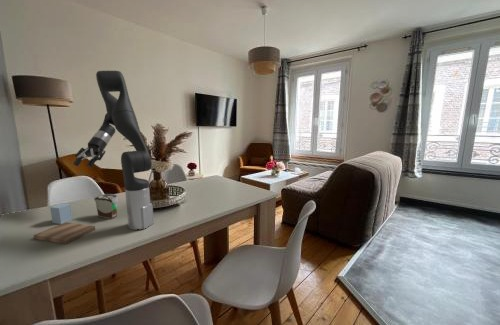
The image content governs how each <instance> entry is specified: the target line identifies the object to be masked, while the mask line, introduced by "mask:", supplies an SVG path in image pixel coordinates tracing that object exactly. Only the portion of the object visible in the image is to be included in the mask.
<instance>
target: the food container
mask: <svg viewBox="0 0 500 325" xmlns="http://www.w3.org/2000/svg"><path fill="white" fill-rule="evenodd" d="M93 201H94V202H95V206H96V212H97V216H98V217H101V218H105V219H110V220H113V219H115V218H117V216H118V201H119V198H118V195H117V194H113V193H104V194H99V195H95V196H94V198H93Z"/></svg>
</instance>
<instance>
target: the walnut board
mask: <svg viewBox="0 0 500 325" xmlns="http://www.w3.org/2000/svg"><path fill="white" fill-rule="evenodd" d="M94 230H96V226H95V225H88V224H82V223H75V222H69V221H67V222H65V223H62V224H56V225H55V226H52V227H50V228H48V229H45V230H43V231H41V232H38V233H35V234H34V235H33V239H34V240H40V241H46V242H50V243H51V242H53V243H57V244H64V245H67V244H68V243H71V242H73V241H75V240H77V239H79V238H81V237H83V236H84V235H87V234H90V232H93V231H94Z"/></svg>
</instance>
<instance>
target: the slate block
mask: <svg viewBox="0 0 500 325" xmlns="http://www.w3.org/2000/svg"><path fill="white" fill-rule="evenodd" d="M50 214H51V220H52V224H56V225H60V224H62V223H65V222H69V221H72V220H73V214H72V206H71V204H70V203H59V204H56V205H54V206H50Z"/></svg>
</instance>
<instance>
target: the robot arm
mask: <svg viewBox="0 0 500 325" xmlns="http://www.w3.org/2000/svg"><path fill="white" fill-rule="evenodd" d="M95 78H96V82H97V86H98V89H99V91H100V94H101V96H102V100H103V102H104V104H105V108H106V109H105V110H106V114H105V115H104V119H103V122H102V124H101V126H100V127H99V129H98V130H97V131H96V132H95V133H94V135H93V136H92V137H91V138H90V140H89V141H88V143H87V147H86V148H84V147H81V148H80V149H79V150H78V151H77V153H76V154H75V155H74V157H75V158H76V159H75V160H74V162H73V165H74V166H75V167H78V166H79V165H80V163H81V162H82V161H83V160H85V159H88V158H90V159H89V161H88V162H87V163H86V165H87V166H88V167H89V168H92V167H93V166H94V164H95V162H97V161H102V159H103V157H104V155H105V154H106V150H105V149H106V147H107V146H108V144H109V142H110V141H111V139H112V138H113V136H114V135H115V133H116V131H117V132H118V133H119V134H120V135H122V136H123V137H124V138H125V139H126V140H127V141H129V142H130V143H131V144H132V146H133V147H134V150H133V151H131V150H130V151H124V152H122V153H121V156H120V163H121V170H122V175H123V177H122V178H123V183H124V192H125V202H126V212H127V213H126V214H127V222H128V228H129V229H130V230H132V231H133V230H134V231H135V230H136V231H138V230H137V229H139V230H145V228H146V229H148V228H149V227H150V226H152V225H153V224H154V222H155V220H154V207H153V203H152V202H151V195H150V183H149V182H150V181H149V180H147V179H145V178H138V177H136V175H135V174H136V173H143V172H147V171H150V170H151V169H152V167H153V166H152V164H153V163H152V158H151V155H150V152H149V149H148V147H147V145H146V143H145V141H144V139H143V135H142V133H141V130H140V126H139V123H138V119H137V117H136V114H135V111H134V108H133V105H132V101H131V100H130V95H129V92H128V89H127V84H126V80H125V77H124V75H123V73H122V72H121V71H119V70H98V71H97V72H96V74H95ZM113 92H114V93H115V92H116V93H117V92H119V94H118V97H115V96H114V95H113V94H112V93H113ZM148 226H149V227H148Z"/></svg>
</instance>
